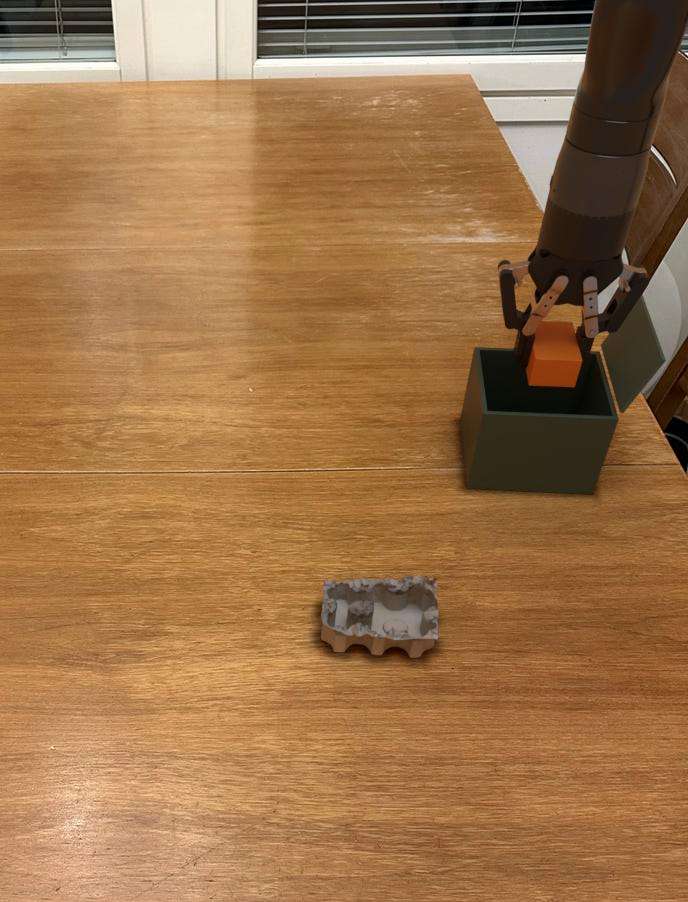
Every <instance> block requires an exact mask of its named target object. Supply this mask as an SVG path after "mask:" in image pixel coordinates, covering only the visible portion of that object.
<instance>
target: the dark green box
mask: <svg viewBox="0 0 688 902" xmlns="http://www.w3.org/2000/svg"><path fill="white" fill-rule="evenodd" d="M462 402H463V403H462V408H461V413H460V418H459V427H460V438H461V447H462V457H463V466H464V467H463V468H464V477H465V486H466V489H474V490H490V491H491V490H493V491H511V492H513V491H514V492H516V491H517V492H532V493H533V492H535V493H551V494H553V493H555V494H574V495H575V494H576V495H594V492H595V489H596V487H597V484H598V481H599V477H600V476H601V472H602V470H603V466H604V463H605V460H606V458H607V455H608V452H609V449H610V446H611V443H612V440H613V437H614V434H615V431H616V429H617V426H618V423H619V420H620V419H619V418H620V417H619V415H618V411H617V408H616V405H615V404H616V403H615V401H614V397H613V394H612V389H611V386H610V382H609V379H608V376H607V372H606V368H605V365H604V361H603V358H602V354H601V352H600V351H597V350H596V351H595V350H591V351H590V355H589V358H588V361H587V362H586V363H585V365H584V364H581V367H580V371H579V374H578V377H577V381H576V384H575V387H555V386H530V385H529V383H528V378H527V373H526V368H520V366H519V362H516V360H515V355H514V347H511V348H510V347H484V346H474V347H473V353H472V358H471V363H470V367H469V372H468V378H467V382H466V387H465V392H464V398H463V401H462Z"/></svg>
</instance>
